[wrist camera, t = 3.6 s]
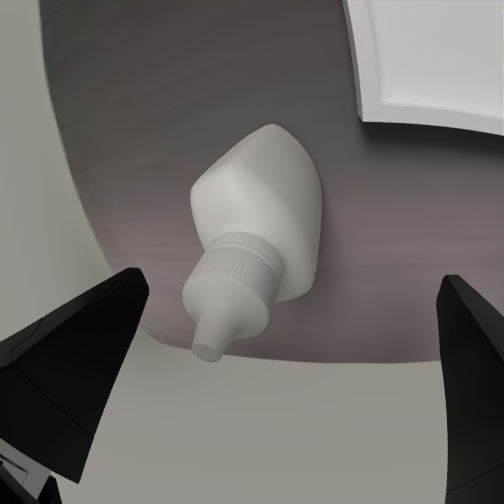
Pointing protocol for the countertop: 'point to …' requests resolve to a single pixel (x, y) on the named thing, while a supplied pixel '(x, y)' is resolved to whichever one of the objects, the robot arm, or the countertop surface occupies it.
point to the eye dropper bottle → (252, 238)
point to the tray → (429, 62)
